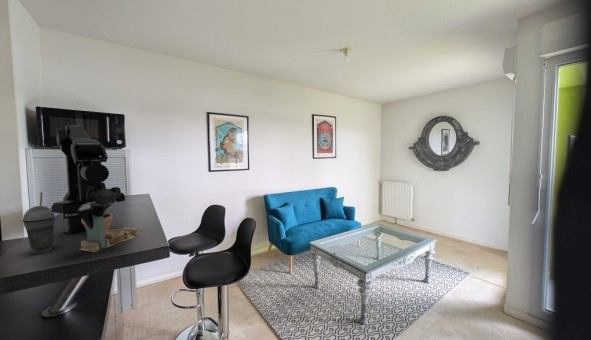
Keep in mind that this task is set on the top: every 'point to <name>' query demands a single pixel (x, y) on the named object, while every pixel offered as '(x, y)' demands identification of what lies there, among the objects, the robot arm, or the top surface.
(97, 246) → the birch rack
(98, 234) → the teal rectangular block
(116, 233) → the pine offcut
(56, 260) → the top surface
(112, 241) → the walnut offcut
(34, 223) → the beverage cup
